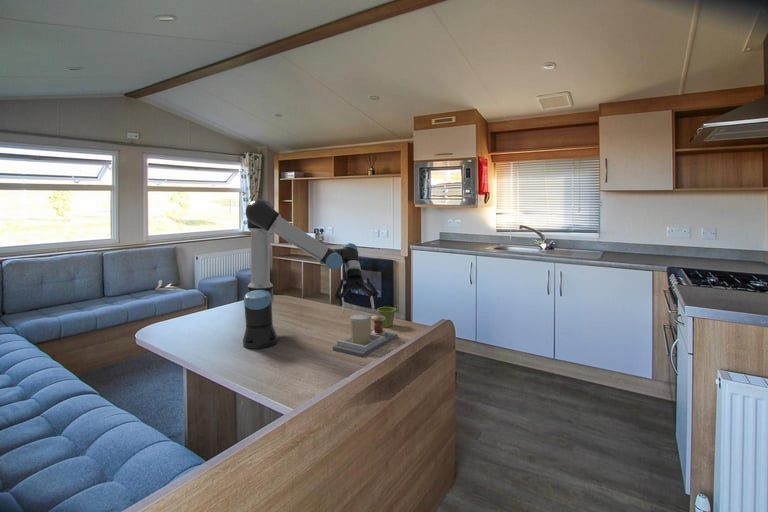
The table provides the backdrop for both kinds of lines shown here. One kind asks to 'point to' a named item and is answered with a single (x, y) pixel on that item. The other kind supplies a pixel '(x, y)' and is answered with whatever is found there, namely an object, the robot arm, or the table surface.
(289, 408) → the table surface
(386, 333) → the gray board
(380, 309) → the plant pot
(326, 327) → the table surface
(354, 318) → the coffee cup
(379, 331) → the wooden bobbin
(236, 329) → the table surface
